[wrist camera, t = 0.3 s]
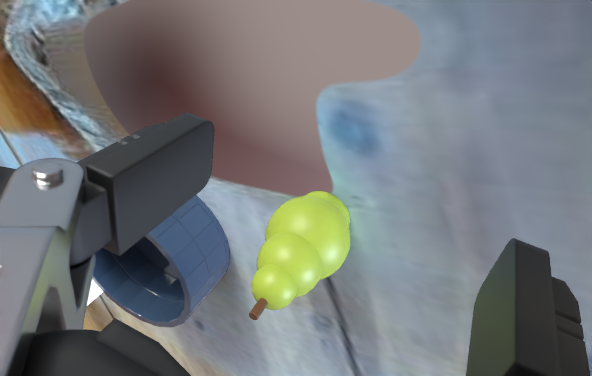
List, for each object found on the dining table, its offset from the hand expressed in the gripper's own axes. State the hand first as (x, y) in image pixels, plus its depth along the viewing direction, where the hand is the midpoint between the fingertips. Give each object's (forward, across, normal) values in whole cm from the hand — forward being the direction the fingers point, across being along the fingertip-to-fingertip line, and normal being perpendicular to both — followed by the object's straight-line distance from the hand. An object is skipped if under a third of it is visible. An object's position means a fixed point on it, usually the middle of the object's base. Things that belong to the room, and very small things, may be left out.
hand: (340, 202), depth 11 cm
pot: (+19, +20, +25) cm, 37 cm away
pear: (+18, +4, +15) cm, 24 cm away
